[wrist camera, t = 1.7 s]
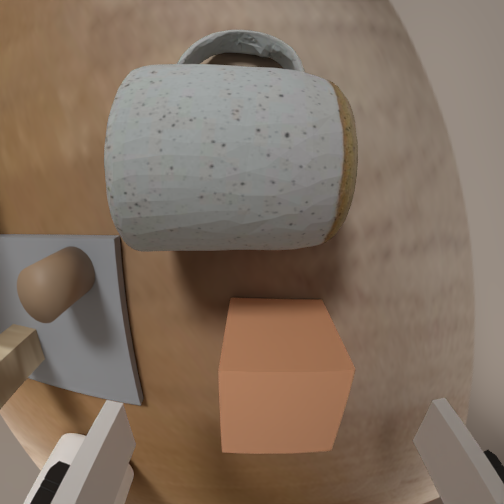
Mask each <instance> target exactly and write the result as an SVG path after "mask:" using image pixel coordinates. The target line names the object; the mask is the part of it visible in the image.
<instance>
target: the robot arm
mask: <svg viewBox="0 0 504 504" xmlns="http://www.w3.org/2000/svg"><path fill="white" fill-rule="evenodd" d="M413 442H414V444H415V446H416V448H417V450H418V452H419V454H420V456H421V458H422V460H423V462H424V464H425V466H426V468H427V470H428V472H429V474H430V476H431V479H432V481H433V483H434V485H435V487H436V489H437V491H438V493H439V495H440V497H441V500H442V501H443V504H504V466H503V465H501V462H500V461H499V459H498V458H497V456H496V455H495V454H493V453H492V452H490V451H489V450H487V451H484V452H483V451H482V449H481V448H480V446H479V445H478V444H477V442H476V441H475V439H474V438H473V436H472V435H471V433H470V432H469V430H468V429H467V428H466V426H465V425H464V423H463V422H462V420H461V419H460V418H459V416H458V415H457V413H456V412H455V411H454V409H453V408H452V407H451V405H450V404H449V402H448V401H447V400H446V398H441V399H436V400H432V402H431V404H430V406H429V408H428V411H427V413H426V415H425V417H424V419H423V421H422V423H421V425H420V427H419V429H418V431H417V433H416V435H415V437H414V439H413ZM135 446H136V443H135V440H134V437H133V434H132V431H131V428H130V425H129V422H128V418H127V415H126V412H125V408H124V405H123V403H119V402H114V401H110V400H106V402H105V404H104V406H103V407H102V409H101V411H100V413H99V414H98V416H97V418H96V420H95V421H94V423H93V425H92V427H91V428H90V430H89V432H88V434H87V436H86V437H85V439H84V441H83V443H82V445H81V446H80V448H79V450H78V452H77V454H76V456H75V458H74V459H73V461H72V463H71V465H69V464H66V463H64V462H61V461H58V462H57V463H56V464H54V465H53V466H52V467H51V468H50V469H49V470H48V472H47V474H46V476H45V477H44V478H45V479H44V480H43V481H42V483H41V485H40V488H38V490H37V492H36V494H35V496H34V497H33V499H32V501H31V503H30V504H114V502H115V499H116V496H117V494H118V491H119V488H120V485H121V483H122V480H123V477H124V475H125V472H126V469H127V467H128V464H129V461H130V459H131V456H132V453H133V451H134V448H135Z"/></svg>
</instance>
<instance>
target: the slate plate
mask: <svg viewBox="0 0 504 504" xmlns="http://www.w3.org/2000/svg"><path fill="white" fill-rule="evenodd" d="M12 324H16V325H20V326H25V327H29V328H33V329H36V331H37V334H38V338H39V341H40V344H41V348H42V351H43V354H44V357H45V360H44V361H43V362H42V363H41V364H40V365H39V366H38V367H37V368H36V369H35V370H34V371H33V373H32V374H31V375H30V376H29V377H28V378H30V379H33V380H36V381H39V382H42V383H46V384H49V385H52V386H56V387H59V388H63V389H66V390H70V391H74V392H78V393H82V394H86V395H90V396H95V397H99V398H104V399H108V400H113V401H118V402H123V403H129V404H134V405H140V406H141V403H142V401H143V399H144V398H143V394H142V389H141V385H140V380H139V376H138V371H137V366H136V361H135V355H134V350H133V344H132V338H131V332H130V326H129V319H128V312H127V305H126V297H125V289H124V280H123V270H122V259H121V246H120V236H113V235H32V234H0V334H1V333H2V332H4V331H5V330H6V329H7V328H9V327H10V326H11V325H12Z"/></svg>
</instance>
